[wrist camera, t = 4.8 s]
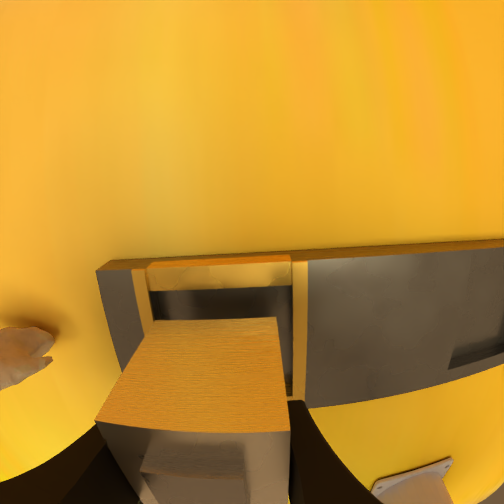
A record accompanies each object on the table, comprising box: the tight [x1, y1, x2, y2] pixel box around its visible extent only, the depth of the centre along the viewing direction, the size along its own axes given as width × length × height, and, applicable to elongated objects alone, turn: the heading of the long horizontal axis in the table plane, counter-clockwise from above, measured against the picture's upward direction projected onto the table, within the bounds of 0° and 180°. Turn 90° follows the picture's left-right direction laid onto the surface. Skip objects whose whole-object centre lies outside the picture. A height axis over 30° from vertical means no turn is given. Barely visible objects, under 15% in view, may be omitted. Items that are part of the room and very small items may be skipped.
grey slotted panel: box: [96, 239, 504, 409], centre depth 14 cm, size 8×26×2 cm, turn 93°
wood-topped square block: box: [94, 317, 291, 504], centre depth 9 cm, size 4×4×6 cm
